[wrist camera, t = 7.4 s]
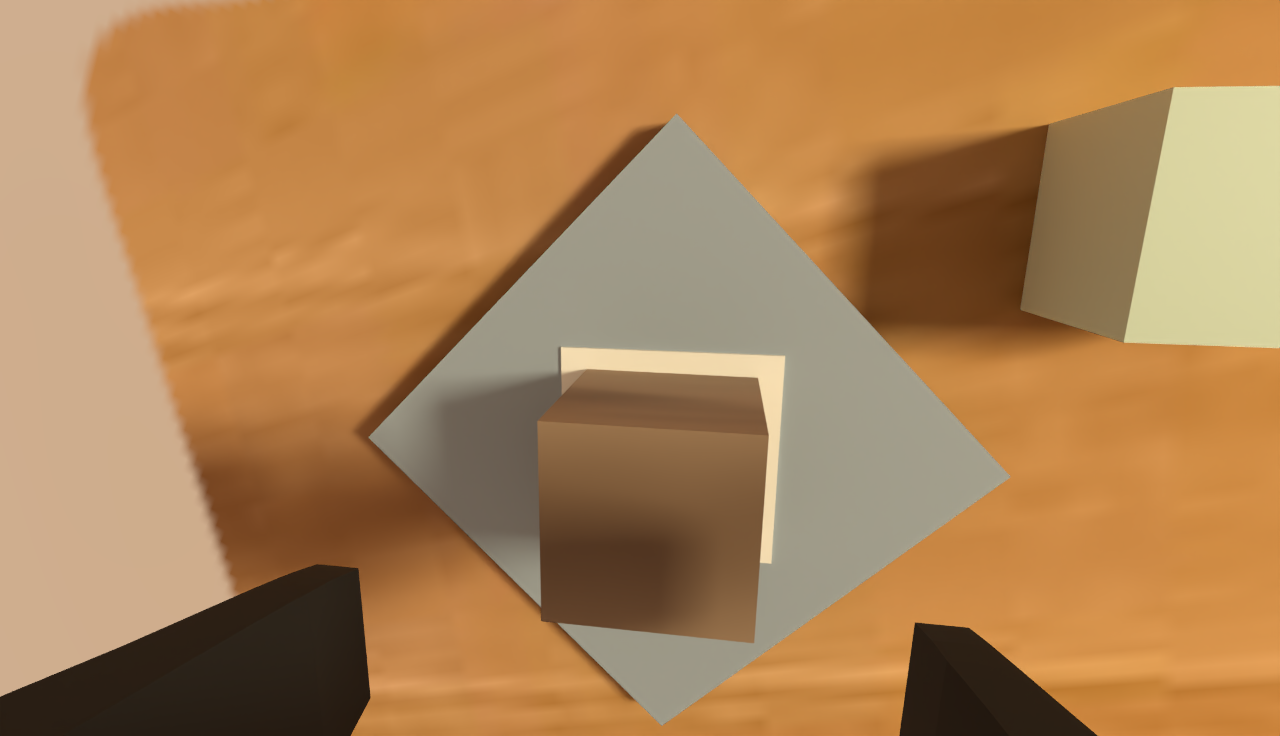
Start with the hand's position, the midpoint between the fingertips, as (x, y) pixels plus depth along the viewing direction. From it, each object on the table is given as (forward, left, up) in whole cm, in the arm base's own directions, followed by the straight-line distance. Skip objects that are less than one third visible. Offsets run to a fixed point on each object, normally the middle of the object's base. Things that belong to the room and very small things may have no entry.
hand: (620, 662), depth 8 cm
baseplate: (0, 0, -8) cm, 8 cm away
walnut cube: (0, 0, -7) cm, 7 cm away
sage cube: (+11, -3, -8) cm, 14 cm away
